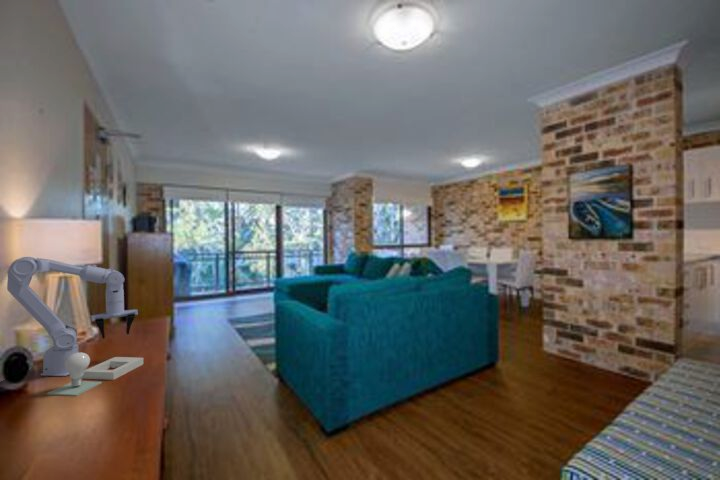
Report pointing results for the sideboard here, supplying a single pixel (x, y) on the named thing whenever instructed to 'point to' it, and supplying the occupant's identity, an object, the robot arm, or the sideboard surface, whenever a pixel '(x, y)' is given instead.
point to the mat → (74, 389)
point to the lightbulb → (77, 367)
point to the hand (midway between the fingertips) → (115, 335)
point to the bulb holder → (119, 363)
